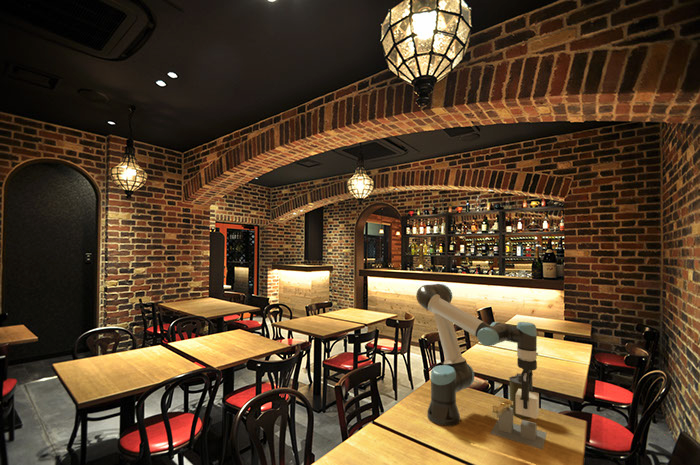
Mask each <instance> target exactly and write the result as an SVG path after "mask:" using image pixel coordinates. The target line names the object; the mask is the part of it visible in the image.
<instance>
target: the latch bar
mask: <svg viewBox="0 0 700 465" xmlns="http://www.w3.org/2000/svg"><path fill="white" fill-rule="evenodd" d="M497 401H498V402H501V404H499V405H498V406H496V405H493V406H492V411H491V417H492V418H495V419H499V416H500V415H501V414H502V413H503V412H505V411H506V410H507V409H510V404H511V405H513V401H510V399H506V398H504V397H499V396H498V398H497Z"/></svg>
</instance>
